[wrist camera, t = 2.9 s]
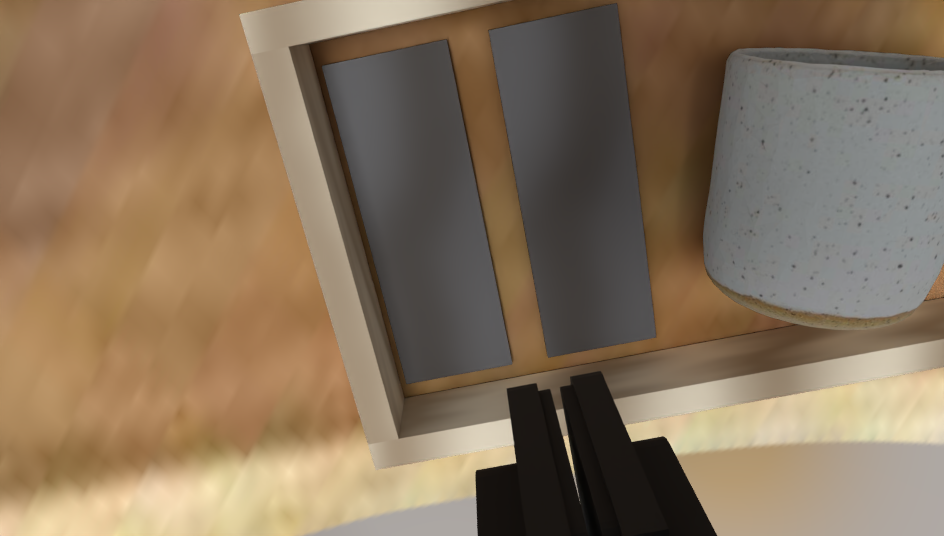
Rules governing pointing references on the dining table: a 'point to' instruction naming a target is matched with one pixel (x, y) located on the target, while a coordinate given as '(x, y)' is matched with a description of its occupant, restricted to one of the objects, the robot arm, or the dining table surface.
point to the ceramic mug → (828, 185)
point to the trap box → (545, 222)
